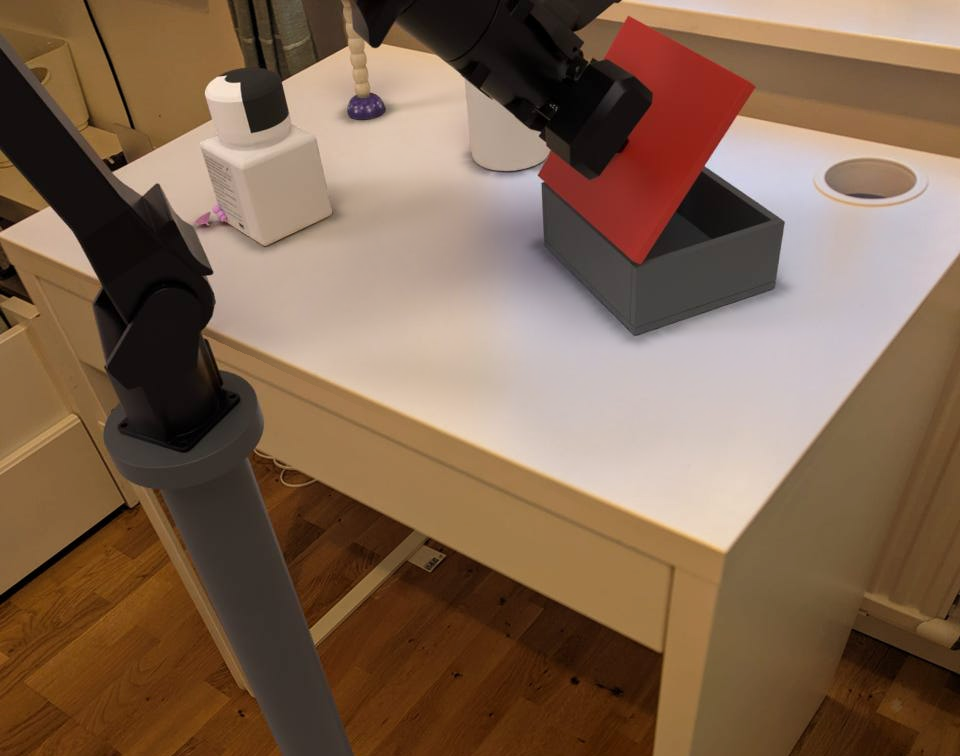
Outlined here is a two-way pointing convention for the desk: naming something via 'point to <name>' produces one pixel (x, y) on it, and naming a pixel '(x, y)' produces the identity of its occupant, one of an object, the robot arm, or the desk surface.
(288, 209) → the container
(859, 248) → the desk surface
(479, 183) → the desk surface
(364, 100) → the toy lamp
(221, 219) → the pink bumpy piece
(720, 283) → the box
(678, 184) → the lid
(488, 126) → the pill bottle
